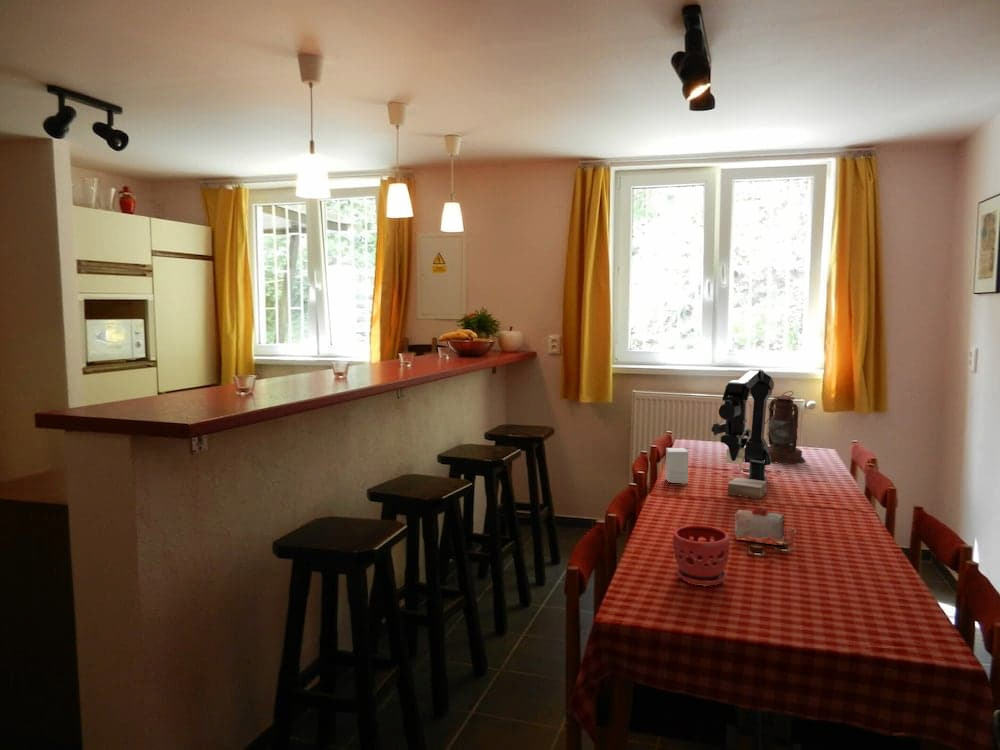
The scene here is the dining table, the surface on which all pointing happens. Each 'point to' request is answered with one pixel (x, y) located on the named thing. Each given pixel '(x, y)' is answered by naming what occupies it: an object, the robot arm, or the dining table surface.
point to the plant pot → (701, 554)
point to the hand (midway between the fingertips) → (735, 459)
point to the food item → (759, 523)
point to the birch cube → (738, 459)
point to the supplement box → (677, 465)
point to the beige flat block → (747, 487)
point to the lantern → (783, 431)
